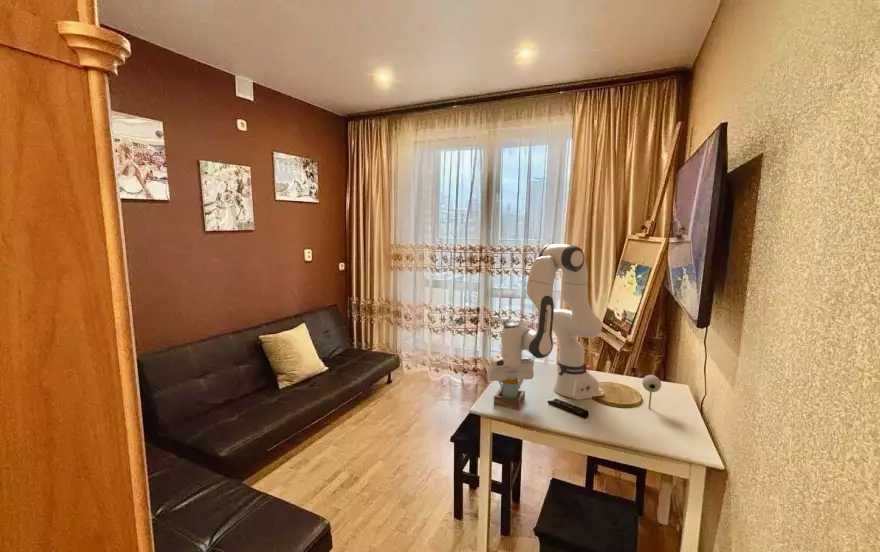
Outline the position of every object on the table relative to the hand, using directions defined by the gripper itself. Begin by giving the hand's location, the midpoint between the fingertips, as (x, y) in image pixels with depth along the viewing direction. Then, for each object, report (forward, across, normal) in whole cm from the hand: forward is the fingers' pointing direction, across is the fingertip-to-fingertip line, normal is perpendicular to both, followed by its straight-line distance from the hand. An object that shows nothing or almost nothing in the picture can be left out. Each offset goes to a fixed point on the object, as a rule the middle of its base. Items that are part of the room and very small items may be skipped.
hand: (510, 388), depth 169 cm
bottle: (+6, 0, 0) cm, 6 cm away
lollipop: (+7, -59, +12) cm, 60 cm away
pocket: (+6, 0, 0) cm, 6 cm away
